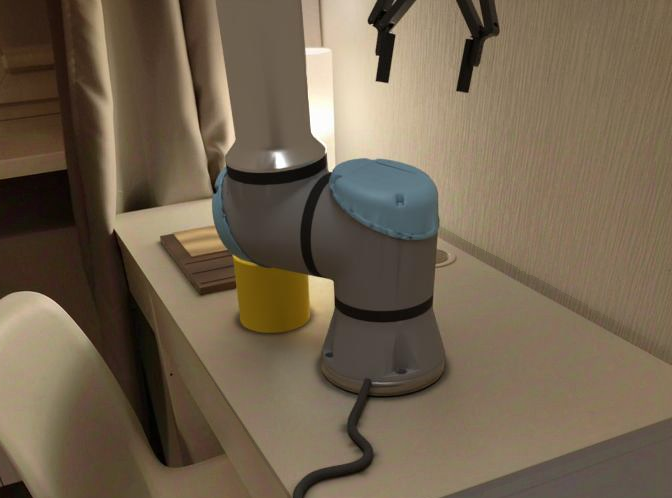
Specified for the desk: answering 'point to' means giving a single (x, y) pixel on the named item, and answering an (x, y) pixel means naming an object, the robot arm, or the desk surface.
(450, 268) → the desk surface
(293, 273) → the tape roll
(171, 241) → the board
